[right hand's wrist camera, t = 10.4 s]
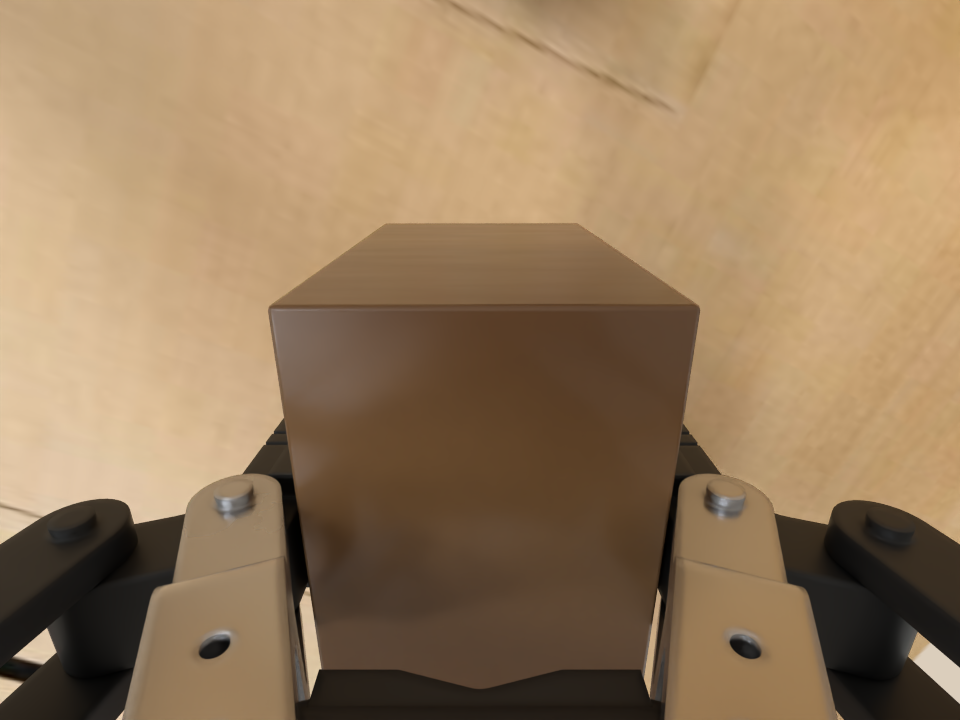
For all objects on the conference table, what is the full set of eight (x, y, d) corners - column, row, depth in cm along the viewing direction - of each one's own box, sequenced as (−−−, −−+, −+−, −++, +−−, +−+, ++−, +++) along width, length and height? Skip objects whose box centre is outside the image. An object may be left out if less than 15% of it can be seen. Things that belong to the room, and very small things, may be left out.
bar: (383, 223, 14) (264, 306, 6) (579, 223, 14) (703, 305, 6) (419, 775, 22) (387, 1112, 14) (543, 774, 22) (578, 1111, 14)
